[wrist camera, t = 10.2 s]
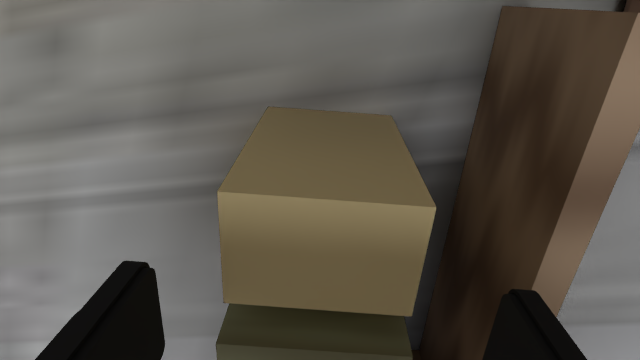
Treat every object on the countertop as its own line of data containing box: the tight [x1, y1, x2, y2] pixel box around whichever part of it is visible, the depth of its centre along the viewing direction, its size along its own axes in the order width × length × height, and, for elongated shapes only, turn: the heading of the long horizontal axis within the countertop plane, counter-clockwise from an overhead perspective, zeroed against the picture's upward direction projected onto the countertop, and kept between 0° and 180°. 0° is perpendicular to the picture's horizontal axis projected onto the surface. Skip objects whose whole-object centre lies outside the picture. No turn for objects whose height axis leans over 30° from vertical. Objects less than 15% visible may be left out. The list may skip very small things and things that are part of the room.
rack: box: [216, 6, 640, 360], centre depth 17 cm, size 22×12×10 cm, turn 177°
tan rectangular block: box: [217, 107, 437, 317], centre depth 15 cm, size 4×6×9 cm, turn 86°
